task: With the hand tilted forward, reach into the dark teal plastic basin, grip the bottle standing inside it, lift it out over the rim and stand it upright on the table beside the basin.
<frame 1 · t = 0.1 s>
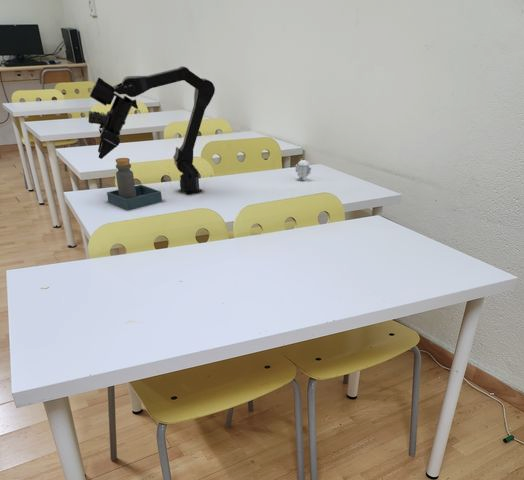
hand: (99, 155, 175), 15 cm above the table, tool tilted 35°, fingers open, 9 cm apart
basin: (135, 201, 180), on the table
bottle: (128, 203, 179), resting in basin
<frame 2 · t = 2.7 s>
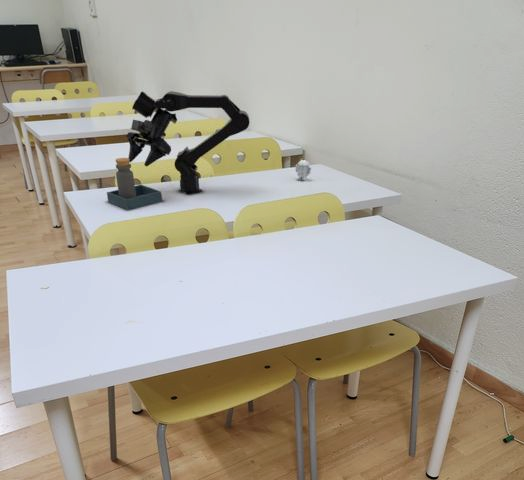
hand: (137, 163, 176), 12 cm above the table, tool tilted 45°, fingers open, 9 cm apart
nothing on the table moved.
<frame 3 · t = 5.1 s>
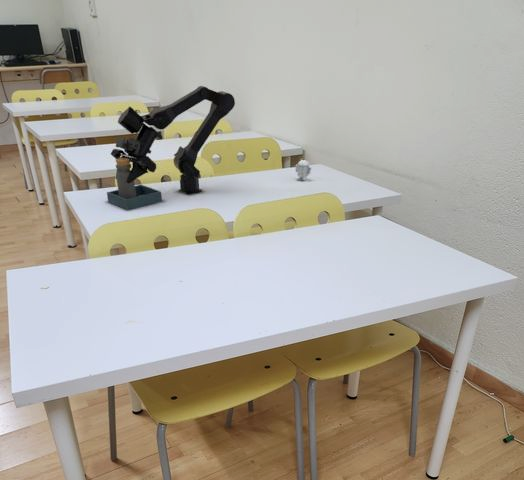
hand: (122, 181, 173), 8 cm above the table, tool tilted 45°, fingers closed on bottle, 6 cm apart
bottle: (128, 203, 179), resting in basin, touching gripper
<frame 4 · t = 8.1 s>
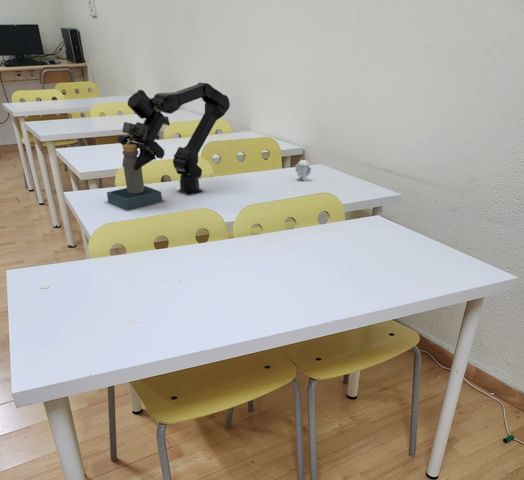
hand: (129, 168, 167), 13 cm above the table, tool tilted 45°, fingers closed on bottle, 6 cm apart
bottle: (135, 191, 173), point 5 cm above the table, touching gripper
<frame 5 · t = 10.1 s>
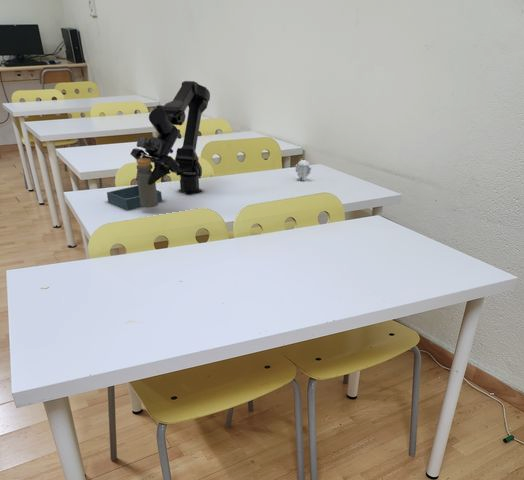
hand: (143, 182, 165), 10 cm above the table, tool tilted 45°, fingers closed on bottle, 6 cm apart
bottle: (149, 205, 170), point 2 cm above the table, touching gripper
when the fingers open (8 cm above the table, at t = 11.3 s): bottle stays where it is, on the table.
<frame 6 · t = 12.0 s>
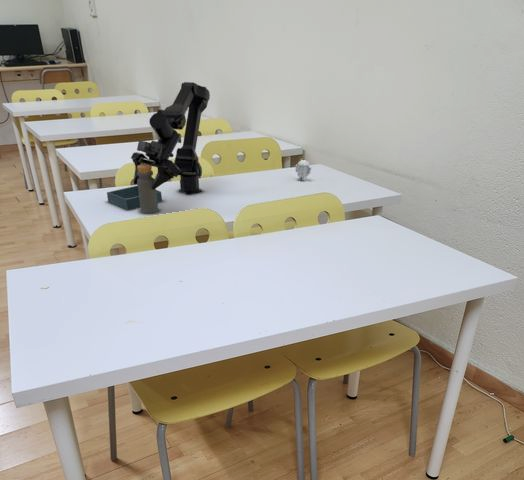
hand: (143, 186, 165), 9 cm above the table, tool tilted 45°, fingers open, 9 cm apart
bottle: (149, 211, 171), on the table
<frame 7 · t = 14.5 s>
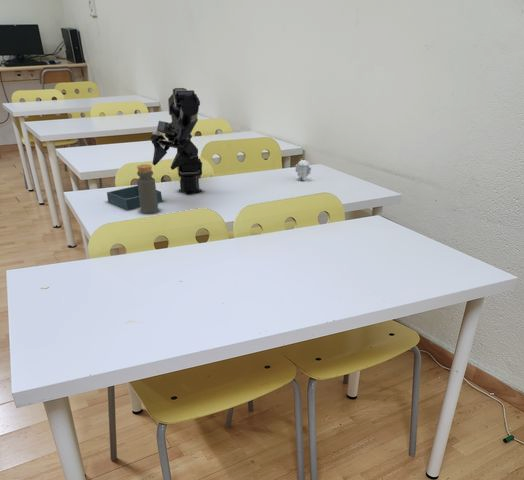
hand: (162, 166, 169), 13 cm above the table, tool tilted 45°, fingers open, 9 cm apart
nothing on the table moved.
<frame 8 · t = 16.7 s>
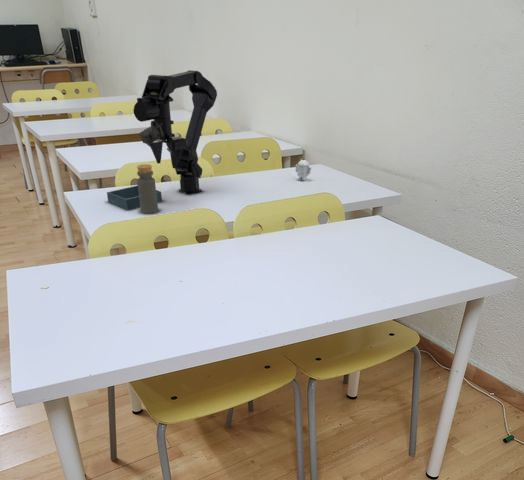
hand: (166, 165, 176), 12 cm above the table, tool pointing down, fingers open, 9 cm apart
nothing on the table moved.
at the end: bottle inside the target area (0.6 cm from its centre), on the table; bottle tilted 0°; the gripper is holding nothing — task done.
